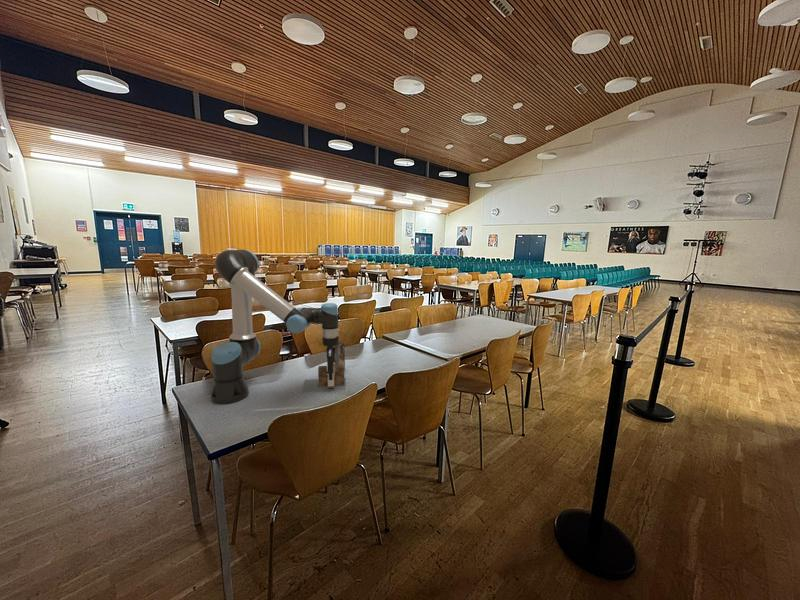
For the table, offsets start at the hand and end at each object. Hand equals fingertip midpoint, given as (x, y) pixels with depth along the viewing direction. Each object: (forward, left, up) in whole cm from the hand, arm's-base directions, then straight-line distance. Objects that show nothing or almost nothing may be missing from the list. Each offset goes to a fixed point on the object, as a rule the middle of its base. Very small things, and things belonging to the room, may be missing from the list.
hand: (331, 381), depth 160 cm
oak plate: (0, 0, -1) cm, 1 cm away
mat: (-3, 0, -3) cm, 4 cm away
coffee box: (+2, +15, -3) cm, 15 cm away
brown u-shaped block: (0, 0, -2) cm, 2 cm away
